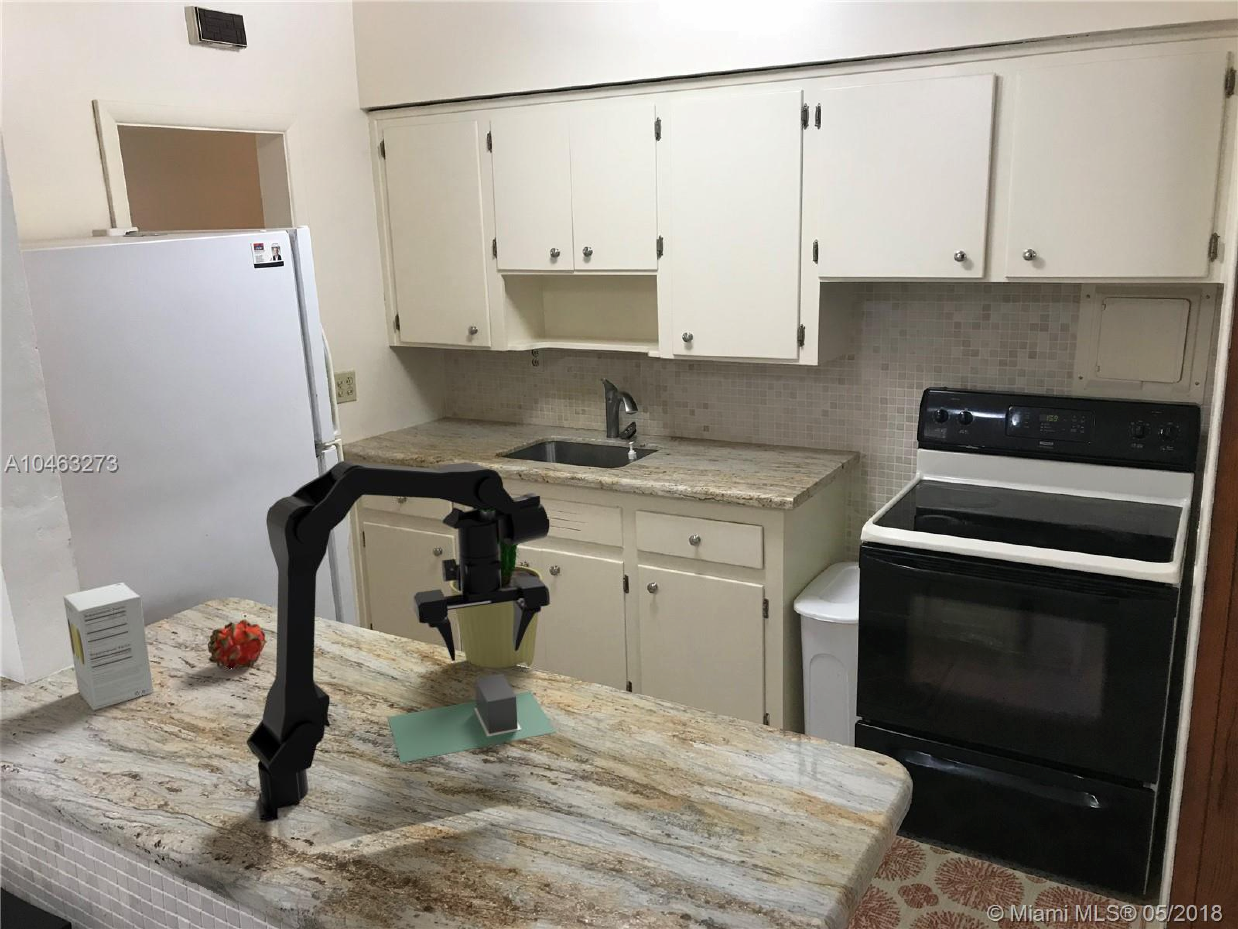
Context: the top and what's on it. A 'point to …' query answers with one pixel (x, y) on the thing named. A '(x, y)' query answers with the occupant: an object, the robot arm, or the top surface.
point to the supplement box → (108, 645)
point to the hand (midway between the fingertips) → (484, 654)
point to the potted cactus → (497, 621)
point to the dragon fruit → (236, 644)
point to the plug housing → (496, 703)
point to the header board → (462, 729)
